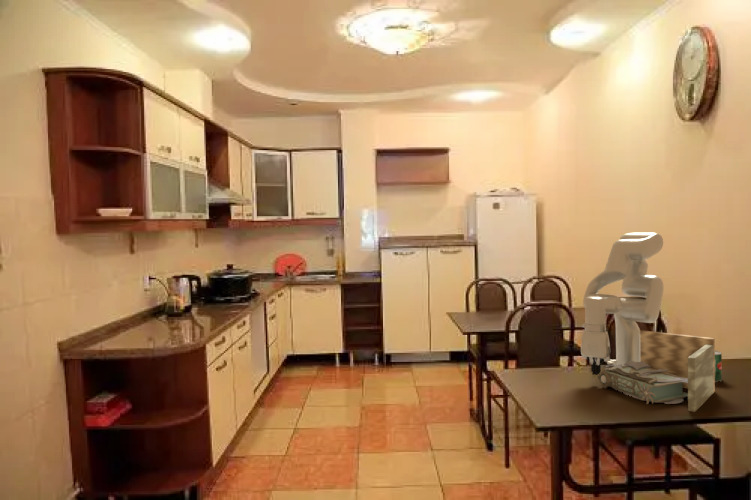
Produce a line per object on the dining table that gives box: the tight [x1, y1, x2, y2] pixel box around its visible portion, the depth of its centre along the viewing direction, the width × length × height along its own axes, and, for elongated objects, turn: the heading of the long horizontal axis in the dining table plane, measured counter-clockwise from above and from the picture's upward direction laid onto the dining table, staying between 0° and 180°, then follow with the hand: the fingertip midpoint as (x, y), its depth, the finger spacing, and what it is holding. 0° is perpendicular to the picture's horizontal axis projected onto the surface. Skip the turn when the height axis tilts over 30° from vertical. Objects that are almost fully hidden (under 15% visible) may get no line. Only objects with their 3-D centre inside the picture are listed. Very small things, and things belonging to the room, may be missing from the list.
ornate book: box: [597, 361, 688, 405], centre depth 193 cm, size 23×10×30 cm
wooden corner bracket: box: [640, 330, 716, 413], centre depth 190 cm, size 25×28×20 cm
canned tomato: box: [715, 350, 723, 383], centre depth 207 cm, size 8×8×11 cm
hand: (596, 374), depth 204 cm, fingers closed
